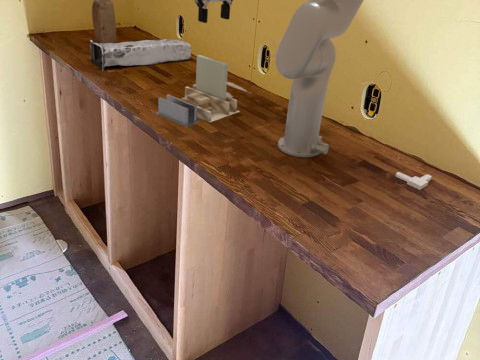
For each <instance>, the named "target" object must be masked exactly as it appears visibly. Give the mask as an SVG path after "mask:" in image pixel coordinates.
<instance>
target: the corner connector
mask: <svg viewBox="0 0 480 360" xmlns="http://www.w3.org/2000/svg"><path fill="white" fill-rule="evenodd" d="M395 177H396V178H399V180H402V181H405V182H406V185H409V186H410V187H413V188H415V189H417V190H421V191H422V189H424V188H425V187H428V184H429V182H430V181H432V175H431V174H428V173H427V174H424V175H423V176H420V177H419V176H416V175H415V176H413V177H412V176H409V175H407V174H405V173H403V172H399V171H398V172H395Z"/></svg>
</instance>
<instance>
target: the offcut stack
mask: <svg viewBox="0 0 480 360" xmlns="http://www.w3.org/2000/svg"><path fill="white" fill-rule="evenodd" d="M180 99H181V100H184V101H186V102H189V103H191V104H194V105H196V106H198V107H201V108H203V109H206V110H208V111H211V113H212V112H213V108H212V107H209V106H208V105H209V103H210V98H208V97H206V96H203V95H200V94H198V93H194V94H191V95H187V97H185V96H184V97H182V98H180Z"/></svg>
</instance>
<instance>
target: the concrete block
mask: <svg viewBox="0 0 480 360" xmlns="http://www.w3.org/2000/svg"><path fill="white" fill-rule="evenodd" d="M89 49H90V50H89V51H90V62H93V63H94V65H96V66H97V67H99V69H101V71H103V72H105V67H111V66H113V67H114V66H124V67H125V66H126V67H129V66H130V67H131V66H147V65H148V66H149V65H158V64H162V63H167V62H178V61H179V62H180V61H185V60H188V59H190V58H191V57H192V46H191V44H190V43H188V42H186V41H183V40H178V39H165V38H164V39H157V40H156V39H153V40H152V39H151V40H150V39H145V40H138V41H122V42H119V43H118V42H116V43H107V44H102V43H100V44H98V43H96V42H95V41H93V40H92V39H90V42H89Z"/></svg>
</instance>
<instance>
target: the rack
mask: <svg viewBox="0 0 480 360" xmlns="http://www.w3.org/2000/svg"><path fill="white" fill-rule="evenodd" d="M194 93H198V94H200V95H203V96H206V97H208V98H210V103H209V105H208V106H209V107H212V108H213V112H212V113H211V111H208V110H206V109H203V108H201V107H198V106H197V118H199V119H200V120H203V121H206V122H208V123H212V122H216V121H218V120H221V119H223V118H225V117H229V116H232V115H234V114H237V113H240V112H241V111H240V110H237V109H238V100H237V99H235V98H233V97H232V98H230V97H228V96H226V101H224V100H222V99H219V98H216V97H214V96H211V95H209V94H206V93H203V92H201V91H198V90H196V83H195V84H192V87H189V86H185V87H184V97H187V95H191V94H194ZM167 95H168V94H166V98H167Z"/></svg>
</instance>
